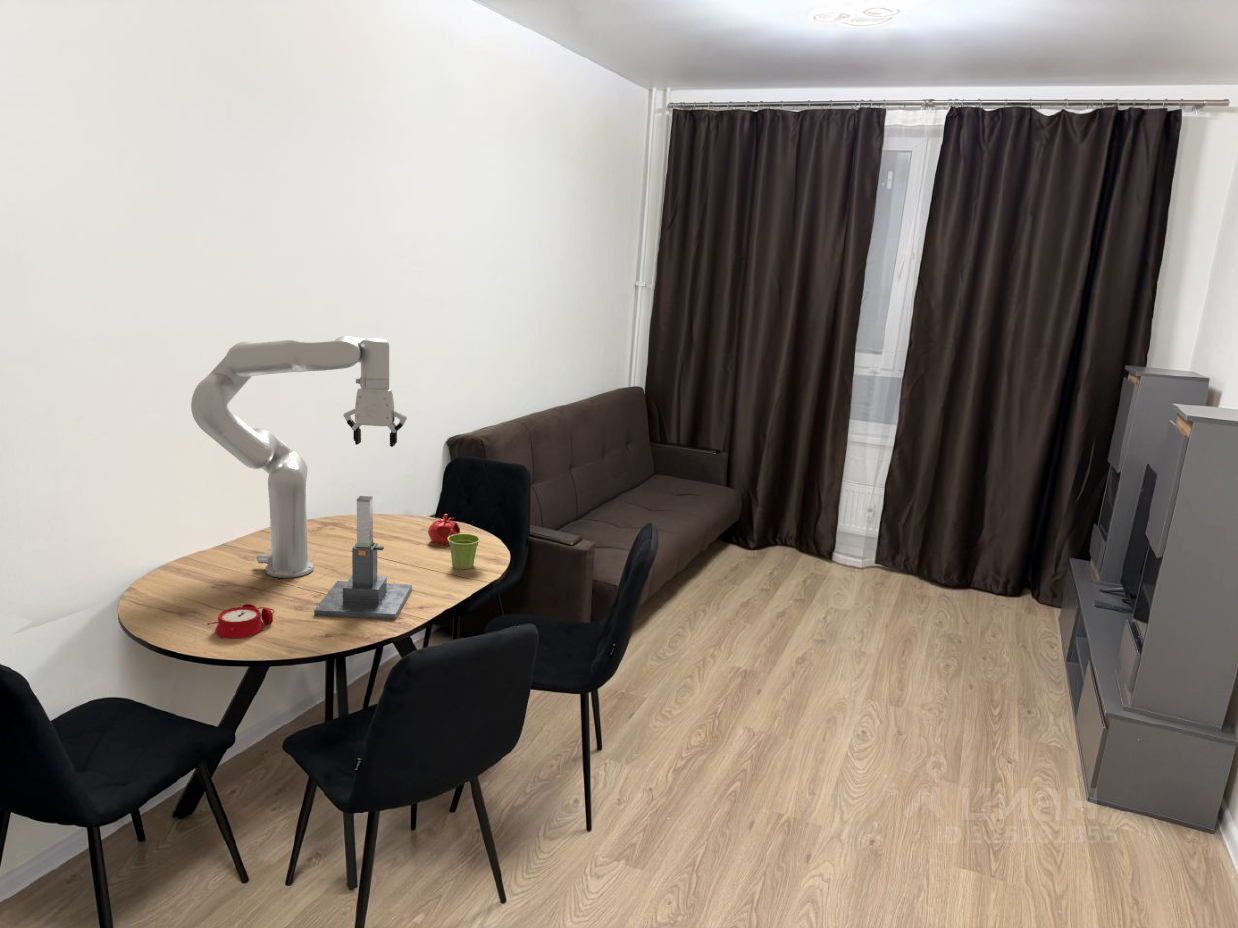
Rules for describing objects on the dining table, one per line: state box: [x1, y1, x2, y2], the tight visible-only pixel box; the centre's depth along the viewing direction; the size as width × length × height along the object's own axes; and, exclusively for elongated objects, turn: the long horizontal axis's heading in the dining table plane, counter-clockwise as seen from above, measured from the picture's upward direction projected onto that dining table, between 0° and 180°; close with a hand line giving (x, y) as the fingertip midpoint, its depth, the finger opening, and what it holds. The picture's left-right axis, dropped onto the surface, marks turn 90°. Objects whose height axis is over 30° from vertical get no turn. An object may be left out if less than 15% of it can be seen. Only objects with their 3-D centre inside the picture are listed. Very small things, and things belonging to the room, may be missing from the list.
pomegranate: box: [427, 513, 461, 546], centre depth 272 cm, size 10×10×9 cm
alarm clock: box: [206, 603, 275, 639], centre depth 204 cm, size 10×6×15 cm
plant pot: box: [448, 533, 481, 570], centre depth 252 cm, size 9×9×9 cm
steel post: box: [355, 495, 374, 548], centre depth 219 cm, size 3×3×17 cm
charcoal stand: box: [313, 542, 413, 620], centre depth 221 cm, size 20×20×16 cm
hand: (375, 444), depth 240 cm, fingers open, 9 cm apart
